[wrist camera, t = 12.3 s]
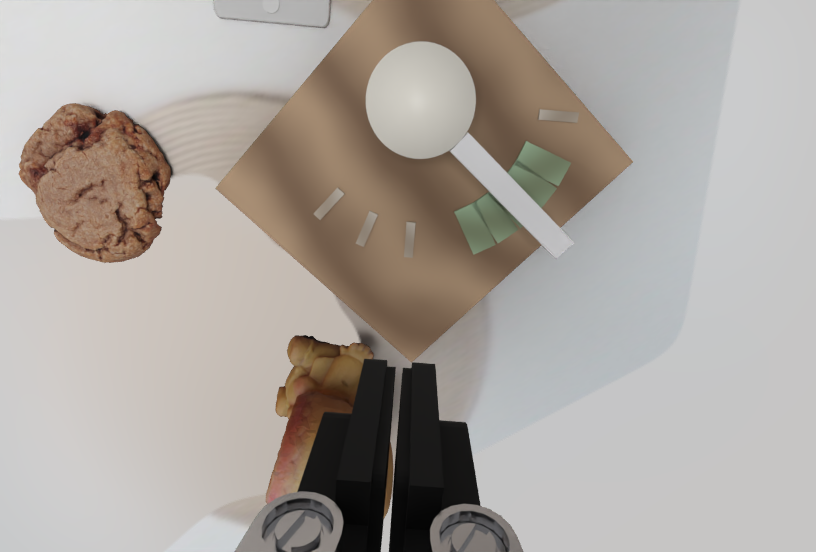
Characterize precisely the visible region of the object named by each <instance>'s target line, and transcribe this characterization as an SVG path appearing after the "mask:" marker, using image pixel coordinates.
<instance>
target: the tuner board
mask: <svg viewBox="0 0 816 552" xmlns="http://www.w3.org/2000/svg"><path fill="white" fill-rule="evenodd" d="M419 41H423V42H431V43H436V44H439V45H442V46H444V47H445V48H447V49H449V50H451V51H452V52H453V53H455V54H456V55H457V56H458V57H459V58H460V59H461V60H462V61H463V63H464V64H465V65H466V67H467V69H468V70H469V72H470V75H471V77H472V79H473V83H474V86H475V93H476V106H475V113H474V117H473V120H472V123H471V125H470V127H469V129H468V131H467V132H468V133H469V134H470V135H471V136H472V137H473V138H474V139H475V140H476V141H477V142H478V143H479V144H480V145H481V146H482V147H483V148H484V149H485V150H486V151H487V152H488V154H489V155H490V156H491V157H492V158H493V159H494V160H495V161H496V162H497V163H498V164H499V165H500V166H501V167H502V168H503V169H504V170H505V171H506V172H507V173H508V174H509V175H510V176H511V177H512V178H513V180H514V181H515V182H516V183H517V184H518V185H519V186H520V187H521V188H522V189H523V190H524V191H525V192H526V193H527V194H528V195H529V196H530V197H531V198H532V199H533V200H534V201H535V202H536V203H537V204H538V205H539V207H540V208H541V209H542V210H543V211H544V212H545V213H546V214H547V215H548V216H549V217H550V218H551V219H552V220H553V221H554V222H555V223H556V224H557V225H558V226H559V227H560V228H561V227H562V226H563V225H564V224H565V223H566V222H567V221H568V220H570V219H571V218H572V217H573V216H574V215H575V214H576V213H577V212H578V211H579V210H581V209H582V208H583V207H584V206H585V205H586V204H587V203H588V202H589V201H591V200H592V199H593V198H594V197H595V196H596V195H597V194H598V193H599V192H600V191H602V190H603V189H604V188H605V187H606V186H607V185H608V184H609V183H610V182H612V181H613V180H614V179H615V178H616V177H617V176H618V175H619V174H620V173H621V172H623V171H624V170H625V169H626V168H627V167H628V166H629V165H630V164H631V163H633V161H632V160H631V159H630V158H629V156H628V155H627V154H626V153H625V152H624V151H623V150H622V148H621V147H620V146H619V145H618V144H617V143H616V141H615V140H614V139H613V138H612V137H611V136H610V134H609V133H608V132H607V131H606V130H605V129H604V127H603V126H602V125H601V124H600V123H599V122H598V120H597V119H596V118H595V117H594V116H593V115H592V114H591V112H590V111H589V110H588V109H587V108H586V107H585V105H584V104H583V103H582V102H581V101H580V100H579V98H578V97H577V96H576V95H575V94H574V93H573V91H572V90H571V89H570V88H569V87H568V86H567V84H566V83H565V82H564V81H563V80H562V79H561V78H560V76H559V75H558V74H557V73H556V72H555V71H554V69H553V68H552V67H551V66H550V65H549V64H548V62H547V61H546V60H545V59H544V58H543V57H542V55H541V54H540V53H539V52H538V51H537V50H536V48H535V47H534V46H533V45H532V44H531V43H530V42H529V40H528V39H527V38H526V37H525V36H524V35H523V33H522V32H521V31H520V30H519V29H518V28H517V26H516V25H515V24H514V23H513V22H512V21H511V19H510V18H509V17H508V16H507V15H506V14H505V12H504V11H503V10H502V9H501V8H500V7H499V6H498V4H497V3H496V2H495V1H494V0H373V1H372V2H371V3H370V4H369V5H368V7H367V8H366V9H365V10H364V11H363V13H362V14H361V15H360V16H359V17H358V18H357V20H356V21H355V22H354V23H353V24H352V26H351V27H350V28H349V29H348V30H347V32H346V33H345V34H344V35H343V36H342V38H341V39H340V40H339V41H338V42H337V44H336V45H335V46H334V47H333V48H332V50H331V51H330V52H329V53H328V54H327V56H326V57H325V58H324V59H323V60H322V61H321V63H320V64H319V65H318V66H317V67H316V69H315V70H314V71H313V72H312V73H311V75H310V76H309V77H308V78H307V79H306V81H305V82H304V83H303V84H302V85H301V87H300V88H299V89H298V90H297V91H296V93H295V94H294V95H293V96H292V97H291V99H290V100H289V101H288V102H287V103H286V104H285V106H284V107H283V108H282V109H281V110H280V112H279V113H278V114H277V115H276V116H275V118H274V119H273V120H272V121H271V122H270V124H269V125H268V126H267V127H266V128H265V130H264V131H263V132H262V133H261V134H260V136H259V137H258V138H257V139H256V140H255V142H254V143H253V144H252V145H251V146H250V147H249V149H248V150H247V151H246V152H245V153H244V155H243V156H242V157H241V158H240V159H239V161H238V162H237V163H236V164H235V165H234V167H233V168H232V169H231V170H230V171H229V173H228V174H227V175H226V176H225V177H224V179H223V180H222V181H221V182H220V183H219V185H218V186H217V187H216V189H217V190H218V191H219V192H220V193H221V194H222V195H224V196H225V197H226V198H227V199H228V200H229V201H230V202H231V203H232V204H234V205H235V206H236V207H237V208H238V209H239V210H240V211H242V212H243V213H244V214H245V215H246V216H247V217H248V218H249V219H251V220H252V221H253V222H254V223H255V224H256V225H257V226H258V227H259V228H261V229H262V230H263V231H264V232H265V233H266V234H267V235H268V236H270V237H271V238H272V239H273V240H274V241H275V242H276V243H278V244H279V245H280V246H281V247H282V248H283V249H284V250H285V251H287V252H288V253H289V254H290V255H291V256H292V257H293V258H294V259H296V260H297V261H298V262H299V263H300V264H301V265H302V266H303V267H305V268H306V269H307V270H308V271H309V272H310V273H311V274H312V275H314V276H315V277H316V278H317V279H318V280H319V281H320V282H321V283H323V284H324V285H325V286H326V287H327V288H328V289H329V290H330V291H332V292H333V293H334V294H335V295H336V296H337V297H338V298H339V299H341V300H342V301H343V302H344V303H345V304H346V305H347V306H348V307H350V308H351V309H352V310H353V311H354V312H355V313H356V314H357V315H359V316H360V317H361V318H362V319H363V320H364V321H365V322H366V323H368V324H369V325H370V326H371V327H372V328H373V329H374V330H376V331H377V332H378V333H379V334H380V335H381V336H382V337H383V338H385V339H386V340H387V341H388V342H389V343H390V344H391V345H392V346H394V347H395V348H396V349H397V350H398V351H399V352H400V353H401V354H403V355H404V356H405V357H406V358H407V359H408V360H409V361H410V362H413V361H414V360H415V359H416V358H417V357H418V356H419V355H420V354H421V353H422V352H424V351H425V350H426V349H427V348H428V347H429V346H430V345H431V344H432V343H434V342H435V341H436V340H437V339H438V338H439V337H440V336H441V335H442V334H443V333H445V332H446V331H447V330H448V329H449V328H450V327H451V326H452V325H453V324H455V323H456V322H457V321H458V320H459V319H460V318H461V317H462V316H463V315H464V314H466V313H467V312H468V311H469V310H470V309H471V308H472V307H473V306H474V305H476V304H477V303H478V302H479V301H480V300H481V299H482V298H483V297H484V296H485V295H487V294H488V293H489V292H490V291H491V290H492V289H493V288H494V287H495V286H497V285H498V284H499V283H500V282H501V281H502V280H503V279H504V278H505V277H506V276H508V275H509V274H510V273H511V272H512V271H513V270H514V269H515V268H516V267H518V266H519V265H520V264H521V263H522V262H523V261H524V260H525V259H526V258H528V257H529V256H530V255H531V254H532V253H533V252H534V251H535V250H536V249H537V248H539V247H540V246H541V244H540V243H539V242H538V241H537V240H536V239H535V238H534V237H533V236H532V235H531V234H530V233H529V232H528V231H527V230H526V229H525V228H524V227H523V226H522V225H521V224H520V223H519V222H518V221H517V220H516V219H515V217H514V216H513V215H512V214H511V213H510V212H509V211H508V210H507V209H506V208H505V207H504V206H503V205H502V204H501V203H500V202H499V201H498V200H497V199H496V198H495V197H494V196H493V195H492V194H491V193H490V192H489V191H488V190H487V189H486V188H485V187H484V186H483V185H482V184H481V183H480V182H479V181H478V180H477V179H476V178H475V177H474V176H473V175H472V174H471V173H470V172H469V171H468V170H467V169H466V168H465V167H464V166H463V165H462V164H461V163H460V162H459V161H458V160H457V159H456V158H455V156H454V155H453V154H452V153H451V152H450V151H447V152H445V153H443V154H442V155H439V156H436V157H432V158H427V159H413V158H408V157H405V156H402V155H399V154H397V153H395V152H393V151H392V150H390V149H389V148H388V147H386V146H385V145H384V144H383V143H382V142H381V141H380V140H379V138H378V137H377V136H376V134H375V133H374V131H373V129H372V127H371V125H370V122H369V119H368V116H367V111H366V91H367V86H368V82H369V79H370V77H371V74H372V72H373V71H374V69H375V67H376V66H377V64H378V63H379V62H380V60H381V59H382V58H383V57H384V56H385V55H387V54H388V53H389V52H390V51H392V50H393V49H395V48H397V47H399V46H401V45H404V44H407V43H411V42H419Z"/></svg>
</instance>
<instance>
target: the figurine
mask: <svg viewBox="0 0 816 552" xmlns="http://www.w3.org/2000/svg"><path fill="white" fill-rule="evenodd" d="M287 353H288V357H289V359H290V362H291V363H292V364H293V365H294V367H293V369H292V370H291V372H290V374H289V376H288V378H287V380H286V383H285V386H284V387H279V391H278V394H277V402H276V413H277V414H278V415H279V416H281V417H282V416H285V417H288V419H289V421H288V423H287V426H286V431H285V434H284V436H283V439H282V443H281V448H280V450H279V452H278V458H277V461H276V463H275V466H274V470H273V472H272V475H271V479H270V483H269V487H268V490H267V493H266V503H267V504H269V503H270V502H271V501H273V500H274V499H276V498H278V497H281V496H283V495H286V494H288V493H294V492H297V491H298V488H299V485H300V482H301V479H302V476H303V473H304V470H305V467H306V464H307V461H308V458H309V455H310V452H311V449H312V446H313V443H314V440H315V437H316V434H317V431H318V428H319V425H320V422H321V419H322V416H323V414H324V412H338V413H351V414H352V409H353V405H354V401H355V397H356V392H357V388H358V384H359V379H360V375H361V371H362V366H363V362H364V359H373V356H374V355H373V352H372V351H371V349H370V348H369V347H368V346H367V345H365V344H363V343H352V344H350V346H344V345H341V346H339V345H333V344H330V343H327V342H321V341H318V340H316V339H315V338H314V337H313V336H310V337H308V336H306V335H304V336H295V337H293V338H292V339H291V341H290V343H289V346H288V350H287ZM392 483H393V455H392V448H391V443H390V448H389V461H388V474H387V485H386V496H385V508H384V518H385V516H386V514H387V512H388V509H389V505H390V500H391V493H392Z"/></svg>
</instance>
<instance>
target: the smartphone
mask: <svg viewBox="0 0 816 552" xmlns="http://www.w3.org/2000/svg"><path fill="white" fill-rule="evenodd" d="M213 4H214V10H215V13H216V15H217V16H218V17H220V18H222V19H233V20H244V21H255V22H266V23H277V24H288V25H299V26H309V27H320V28H325V27H327V26H328V24H329V20H330V0H213Z"/></svg>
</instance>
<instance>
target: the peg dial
mask: <svg viewBox="0 0 816 552" xmlns="http://www.w3.org/2000/svg"><path fill="white" fill-rule="evenodd" d="M475 106H476V93H475V86H474V83H473V79H472V77H471V75H470V72H469V70H468V69H467V67H466V65H465V64H464V63H463V61H462V60H461V59H460V58H459V57H458V56H457V55H456V54H455V53H453V52H452V51H451V50H449V49H447V48H445V47H444V46H442V45H439V44H436V43H431V42H423V41H419V42H411V43H407V44H404V45H401V46H399V47H397V48H395V49H393V50H392V51H390V52H389V53H388V54H387V55H385V56H384V57H383V58H382V59H381V60H380V62H379V63H378V64H377V66H376V67H375V69H374V71H373V72H372V74H371V77H370V79H369V82H368V86H367V91H366V111H367V116H368V119H369V122H370V125H371V127H372V129H373V131H374V133H375V134H376V136H377V137H378V138H379V140H380V141H381V142H382V143H383V144H384V145H385V146H386V147H388V148H389V149H390V150H392V151H393V152H395V153H397V154H399V155H402V156H405V157H408V158H413V159H427V158H432V157H436V156H439V155H442V154H443V153H445V152H447V151H450V152H451V153H452V154H453V155H454V156H455V158H456V159H457V160H458V161H459V162H460V163H461V164H462V165H463V166H464V167H465V168H466V169H467V170H468V171H469V172H470V173H471V174H472V175H473V176H474V177H475V178H476V179H477V180H478V181H479V182H480V183H481V184H482V185H483V186H484V187H485V188H486V189H487V190H488V191H489V192H490V193H491V194H492V195H493V196H494V197H495V198H496V199H497V200H498V201H499V202H500V203H501V204H502V205H503V206H504V207H505V208H506V209H507V210H508V211H509V212H510V213H511V214H512V215H513V216H514V217H515V219H516V220H517V221H518V222H519V223H520V224H521V225H522V226H523V227H524V228H525V229H526V230H527V231H528V232H529V233H530V234H531V235H532V236H533V237H534V238H535V239H536V240H537V241H538V242H539V243H540V244H541V245H542V246H543V247H544V248H545V249H546V250H547V251H548V252H549V253H550V254H551V255H552V256H553V257H554V258H556V259H557V258H558V257H559V256H560V255H561V254H562V253H564V252H565V251H566V250H567V249H568V248H569V247H570V246H571V245H572V244H573V243H574V242H573V241H572V240H571V239H570V238H569V237H568V236H567V235H566V234H565V233H564V231H563V230H562V229H561V228H560V227H559V226H558V225H557V224H556V223H555V222H554V221H553V220H552V219H551V218H550V217H549V216H548V215H547V214H546V213H545V212H544V211H543V210H542V209H541V208H540V207H539V205H538V204H537V203H536V202H535V201H534V200H533V199H532V198H531V197H530V196H529V195H528V194H527V193H526V192H525V191H524V190H523V189H522V188H521V187H520V186H519V185H518V184H517V183H516V182H515V181H514V180H513V178H512V177H511V176H510V175H509V174H508V173H507V172H506V171H505V170H504V169H503V168H502V167H501V166H500V165H499V164H498V163H497V162H496V161H495V160H494V159H493V158H492V157H491V156H490V155H489V154H488V152H487V151H486V150H485V149H484V148H483V147H482V146H481V145H480V144H479V143H478V142H477V141H476V140H475V139H474V138H473V137H472V136H471V135H470V134H469V133H468V132H467V131H468V129H469V127H470V125H471V123H472V120H473V117H474V113H475Z"/></svg>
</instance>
